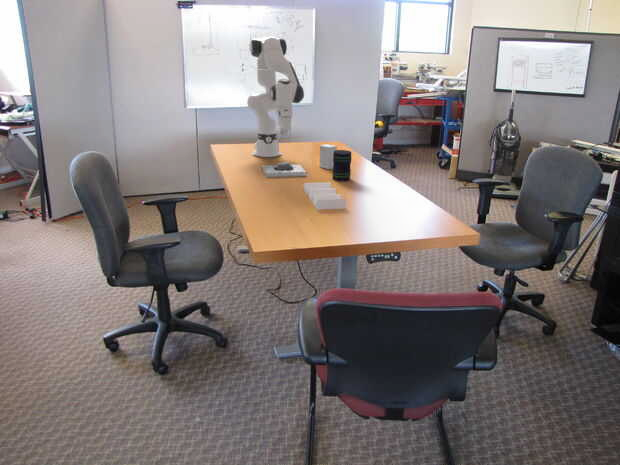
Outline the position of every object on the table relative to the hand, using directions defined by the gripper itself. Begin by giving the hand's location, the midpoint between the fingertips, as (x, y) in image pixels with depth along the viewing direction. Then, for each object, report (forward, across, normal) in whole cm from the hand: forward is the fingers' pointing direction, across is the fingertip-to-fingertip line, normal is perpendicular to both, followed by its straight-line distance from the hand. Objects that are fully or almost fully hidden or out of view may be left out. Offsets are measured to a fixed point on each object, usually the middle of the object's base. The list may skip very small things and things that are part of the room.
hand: (283, 136), depth 281 cm
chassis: (+20, +1, 0) cm, 20 cm away
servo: (+20, +1, 0) cm, 20 cm away
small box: (+21, -9, +28) cm, 36 cm away
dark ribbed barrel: (+20, +18, +29) cm, 40 cm away
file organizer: (+20, +50, +11) cm, 55 cm away
